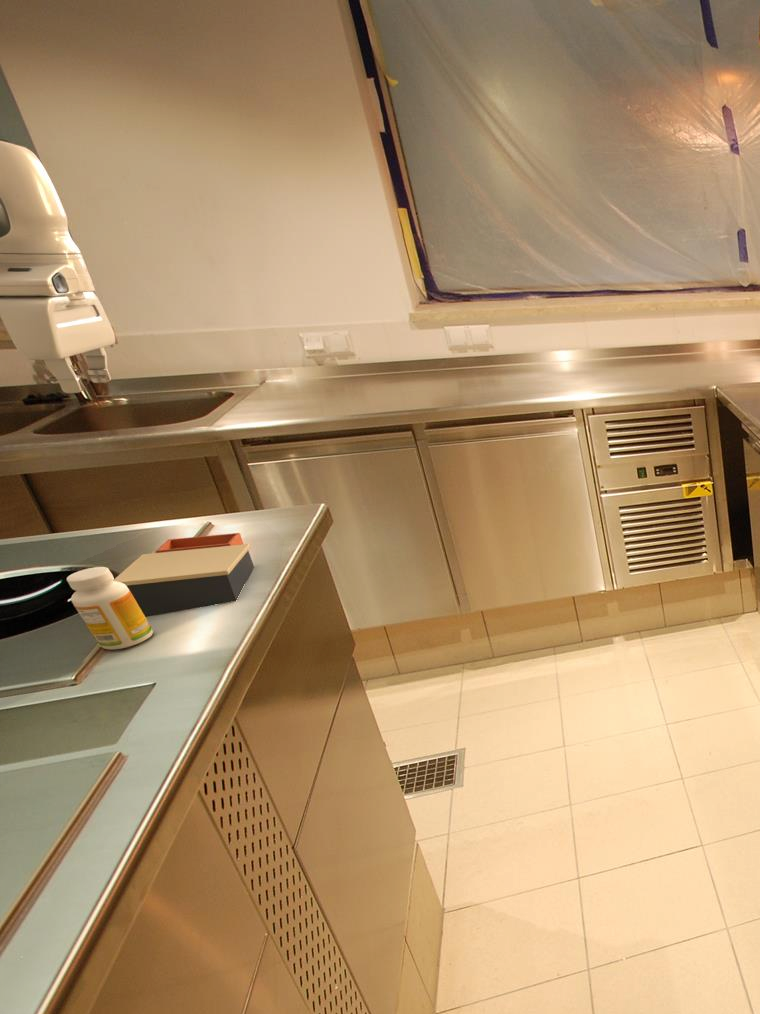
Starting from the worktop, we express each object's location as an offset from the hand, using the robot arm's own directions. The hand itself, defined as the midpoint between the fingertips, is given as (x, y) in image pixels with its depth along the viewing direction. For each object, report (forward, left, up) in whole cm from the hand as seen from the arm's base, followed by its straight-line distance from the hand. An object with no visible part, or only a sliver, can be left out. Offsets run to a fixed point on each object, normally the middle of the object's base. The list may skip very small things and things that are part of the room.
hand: (89, 387), depth 115 cm
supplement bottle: (+2, -23, -29) cm, 37 cm away
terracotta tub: (+4, +4, -29) cm, 30 cm away
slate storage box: (+6, -10, -29) cm, 31 cm away
